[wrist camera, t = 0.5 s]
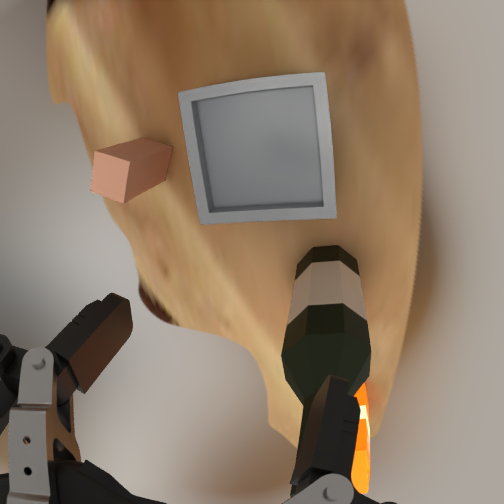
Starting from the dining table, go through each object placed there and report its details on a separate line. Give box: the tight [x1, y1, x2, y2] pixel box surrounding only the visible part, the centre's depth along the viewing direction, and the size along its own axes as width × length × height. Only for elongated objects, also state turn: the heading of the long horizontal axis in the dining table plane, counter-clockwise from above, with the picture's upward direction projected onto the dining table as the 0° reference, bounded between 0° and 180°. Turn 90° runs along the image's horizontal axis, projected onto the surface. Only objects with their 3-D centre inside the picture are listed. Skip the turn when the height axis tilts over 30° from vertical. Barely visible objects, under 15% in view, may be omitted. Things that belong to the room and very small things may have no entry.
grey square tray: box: [178, 72, 336, 225], centre depth 32 cm, size 14×14×7 cm
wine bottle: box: [281, 245, 371, 497], centre depth 27 cm, size 8×8×30 cm
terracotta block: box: [91, 138, 173, 204], centre depth 34 cm, size 5×5×10 cm
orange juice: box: [351, 382, 370, 493], centre depth 41 cm, size 8×9×20 cm
